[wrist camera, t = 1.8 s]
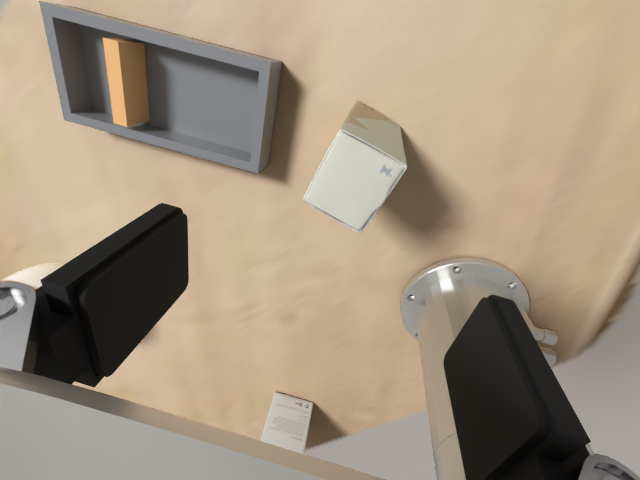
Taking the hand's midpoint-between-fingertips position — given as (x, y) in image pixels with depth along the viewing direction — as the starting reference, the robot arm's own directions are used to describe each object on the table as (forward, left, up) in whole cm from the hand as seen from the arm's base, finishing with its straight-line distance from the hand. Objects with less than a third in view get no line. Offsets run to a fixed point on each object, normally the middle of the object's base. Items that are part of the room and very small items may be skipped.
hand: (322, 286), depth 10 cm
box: (0, 0, -21) cm, 21 cm away
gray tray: (+17, 0, -20) cm, 26 cm away
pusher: (+20, 0, -20) cm, 28 cm away
